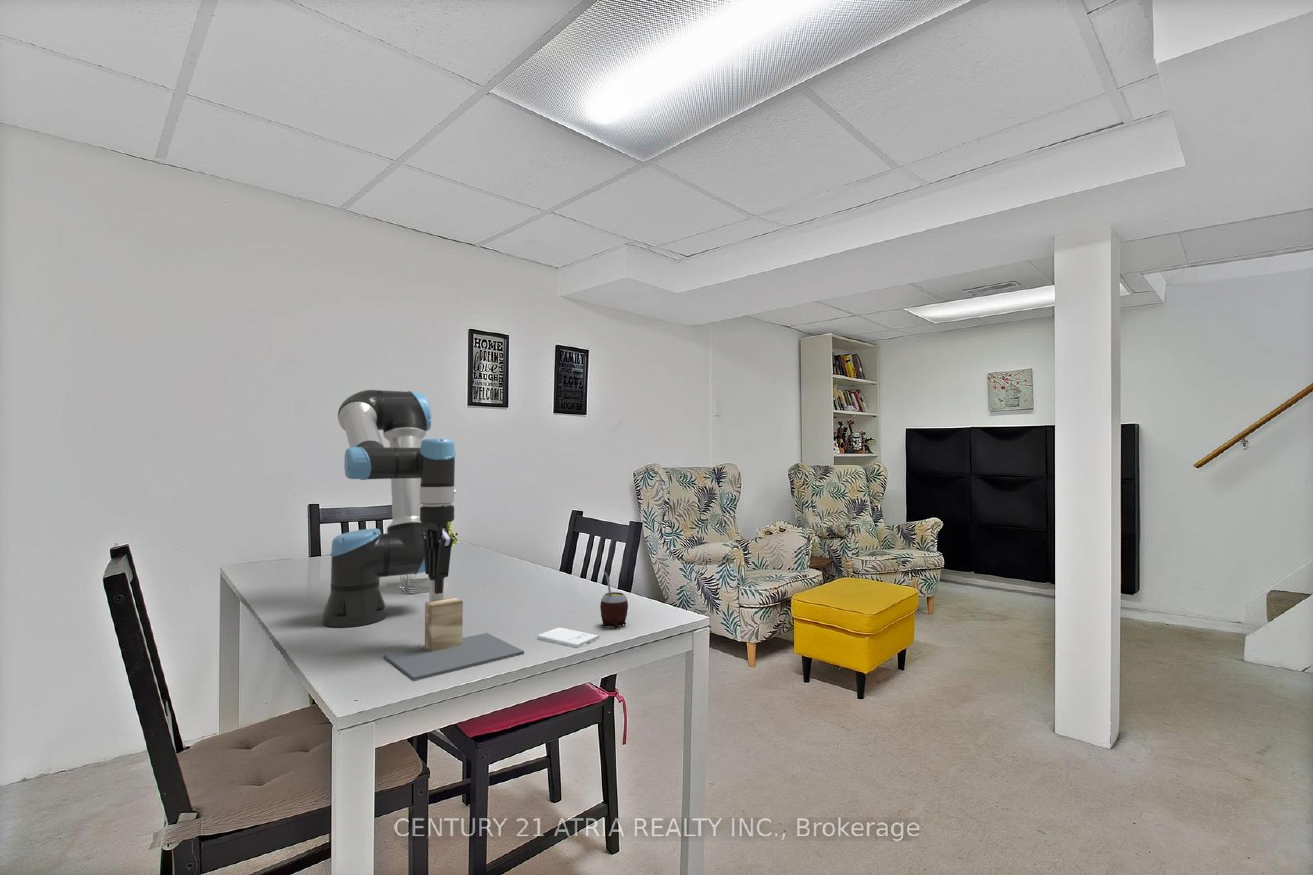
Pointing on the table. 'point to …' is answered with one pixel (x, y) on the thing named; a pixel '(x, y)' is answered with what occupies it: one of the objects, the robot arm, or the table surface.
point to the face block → (443, 624)
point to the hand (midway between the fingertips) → (436, 606)
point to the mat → (452, 656)
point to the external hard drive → (567, 637)
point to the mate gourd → (613, 607)
